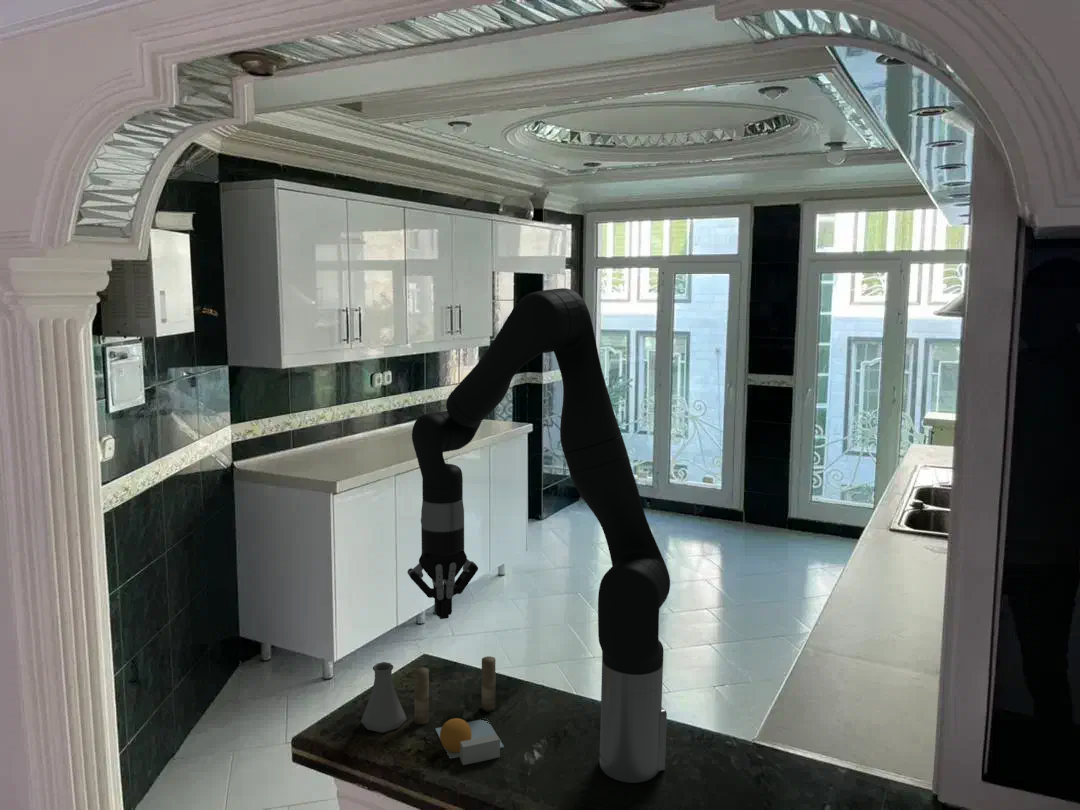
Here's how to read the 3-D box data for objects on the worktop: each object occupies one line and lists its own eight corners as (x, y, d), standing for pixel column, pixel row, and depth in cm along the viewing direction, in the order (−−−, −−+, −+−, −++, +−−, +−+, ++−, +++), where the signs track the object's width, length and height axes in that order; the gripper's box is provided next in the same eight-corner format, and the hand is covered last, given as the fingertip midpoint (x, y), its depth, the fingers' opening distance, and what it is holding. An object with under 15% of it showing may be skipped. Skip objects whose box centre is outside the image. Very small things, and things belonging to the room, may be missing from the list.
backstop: (496, 751, 126) (496, 734, 125) (499, 757, 124) (499, 739, 124) (460, 759, 124) (460, 741, 123) (463, 765, 122) (463, 747, 122)
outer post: (427, 715, 136) (426, 666, 135) (430, 722, 134) (430, 672, 133) (413, 718, 135) (412, 668, 134) (416, 725, 133) (415, 675, 132)
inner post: (492, 703, 141) (492, 655, 139) (497, 710, 138) (497, 661, 137) (479, 705, 140) (479, 657, 139) (484, 712, 138) (484, 663, 136)
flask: (382, 738, 129) (381, 681, 128) (353, 723, 134) (351, 667, 132) (414, 720, 135) (413, 664, 134) (385, 706, 139) (384, 652, 138)
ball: (467, 709, 127) (473, 738, 123) (469, 723, 130) (475, 753, 126) (436, 716, 126) (441, 746, 122) (438, 731, 129) (444, 761, 125)
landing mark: (486, 719, 135) (486, 718, 135) (504, 747, 127) (504, 746, 127) (435, 729, 132) (435, 728, 132) (449, 759, 124) (449, 757, 124)
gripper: (410, 533, 134) (411, 630, 136) (485, 525, 139) (484, 620, 141) (401, 521, 141) (402, 614, 143) (472, 514, 146) (472, 604, 148)
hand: (443, 617), depth 142 cm, fingers closed
